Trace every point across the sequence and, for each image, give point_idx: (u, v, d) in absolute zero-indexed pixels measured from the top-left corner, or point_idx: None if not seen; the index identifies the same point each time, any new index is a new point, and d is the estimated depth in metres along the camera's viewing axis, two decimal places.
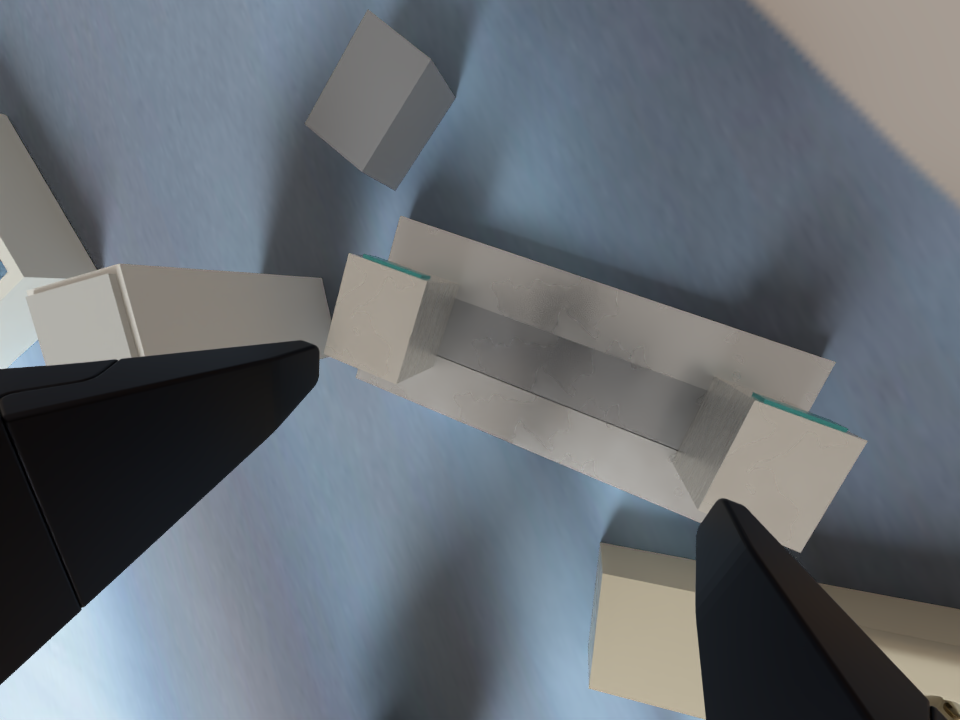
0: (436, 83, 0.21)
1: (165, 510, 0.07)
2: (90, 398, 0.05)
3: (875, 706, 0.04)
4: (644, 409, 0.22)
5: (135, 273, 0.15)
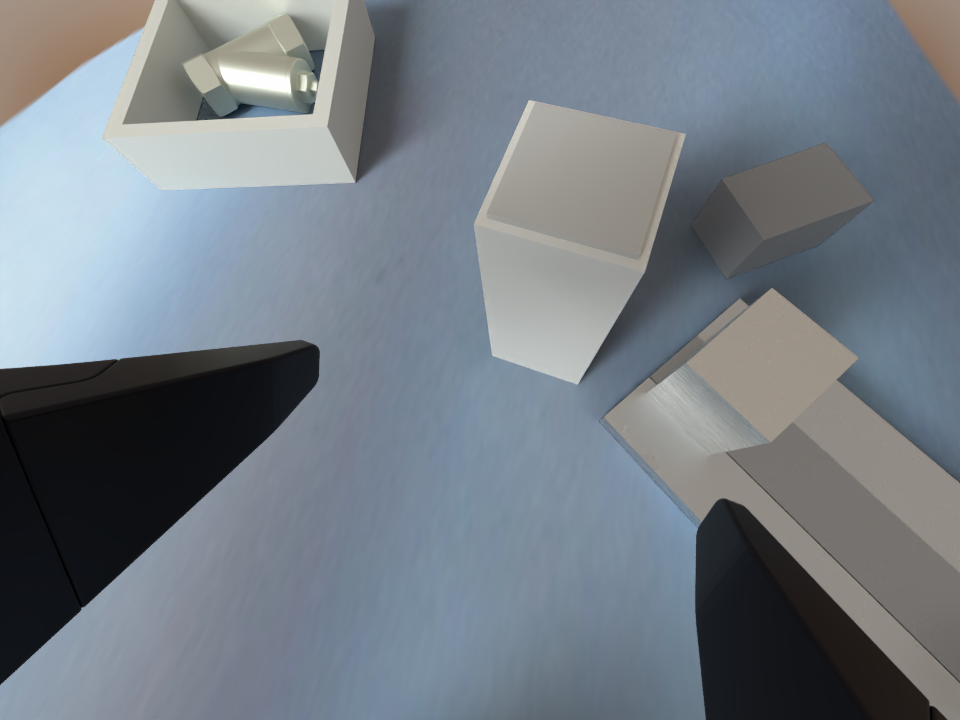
0: (844, 221, 0.22)
1: (165, 510, 0.07)
2: (90, 398, 0.05)
3: (875, 706, 0.04)
4: None
5: None
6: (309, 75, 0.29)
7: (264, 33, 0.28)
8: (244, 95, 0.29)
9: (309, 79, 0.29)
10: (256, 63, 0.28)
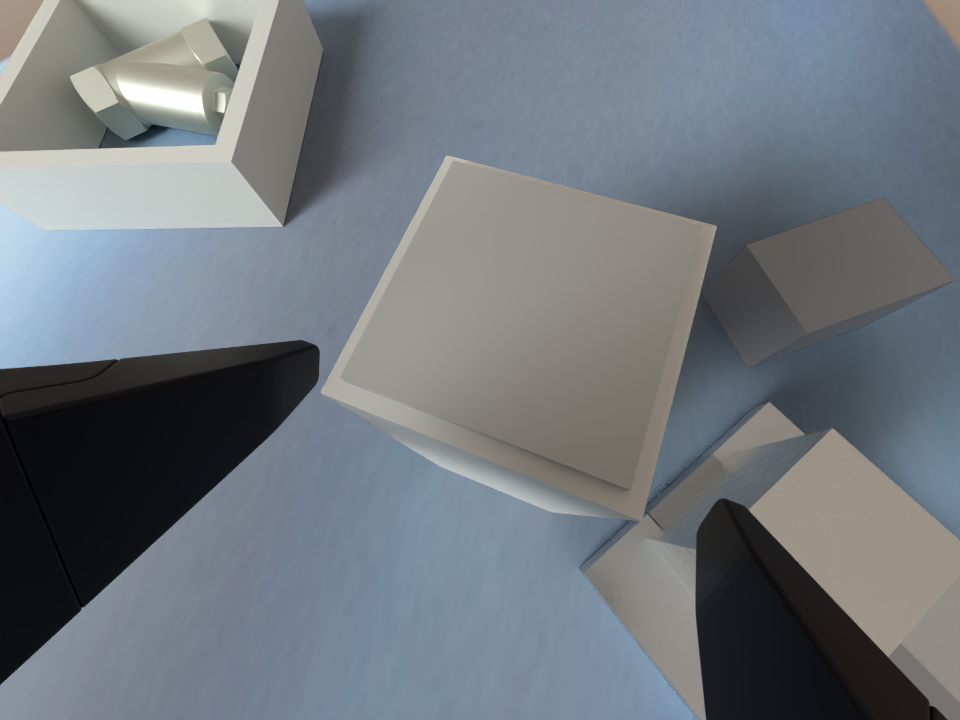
0: (908, 302, 0.16)
1: (165, 510, 0.07)
2: (90, 398, 0.05)
3: (875, 706, 0.04)
4: None
5: None
6: (229, 93, 0.23)
7: (176, 41, 0.23)
8: (150, 115, 0.24)
9: (229, 98, 0.23)
10: (162, 77, 0.23)
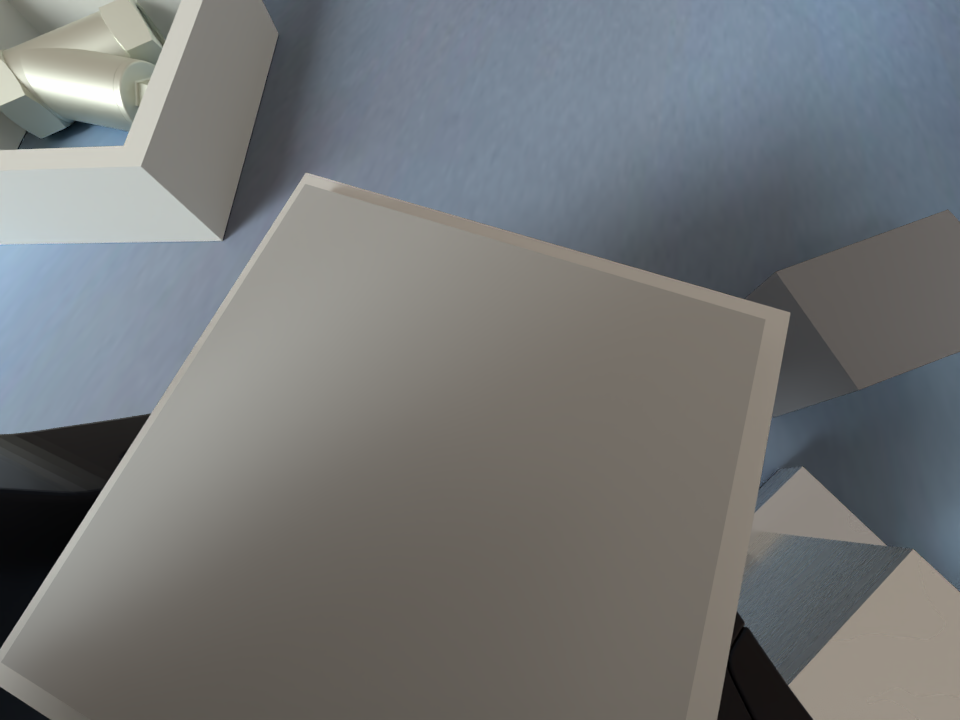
0: None
1: None
2: None
3: None
4: None
5: None
6: None
7: (93, 23, 0.20)
8: (66, 110, 0.20)
9: None
10: (73, 65, 0.19)
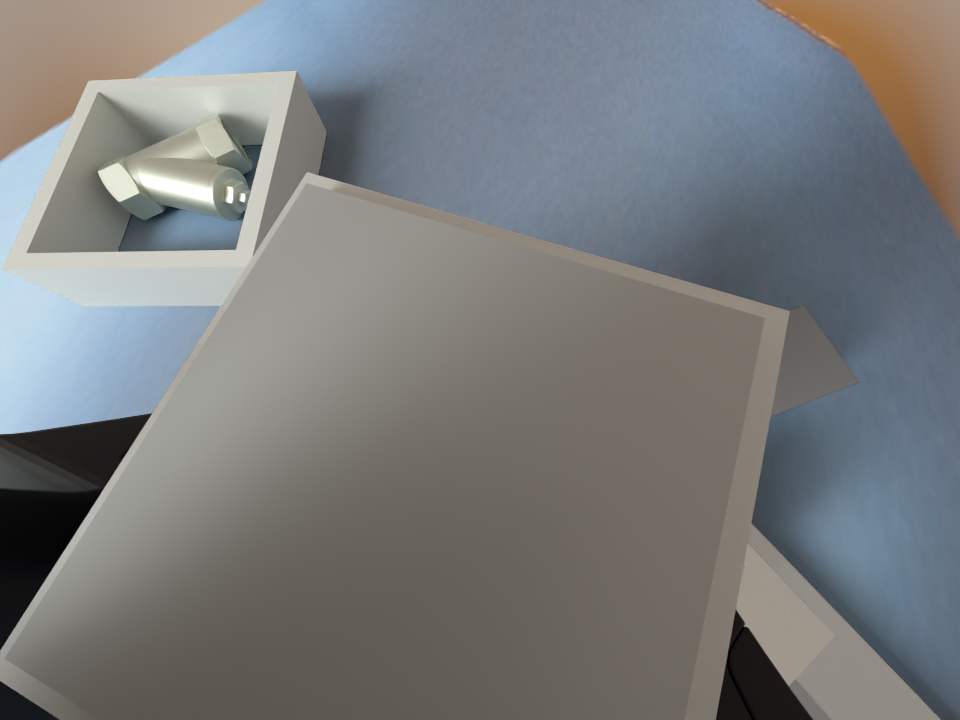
0: None
1: None
2: None
3: None
4: None
5: None
6: (236, 186, 0.26)
7: (190, 138, 0.26)
8: (167, 202, 0.27)
9: (236, 190, 0.26)
10: (178, 173, 0.25)
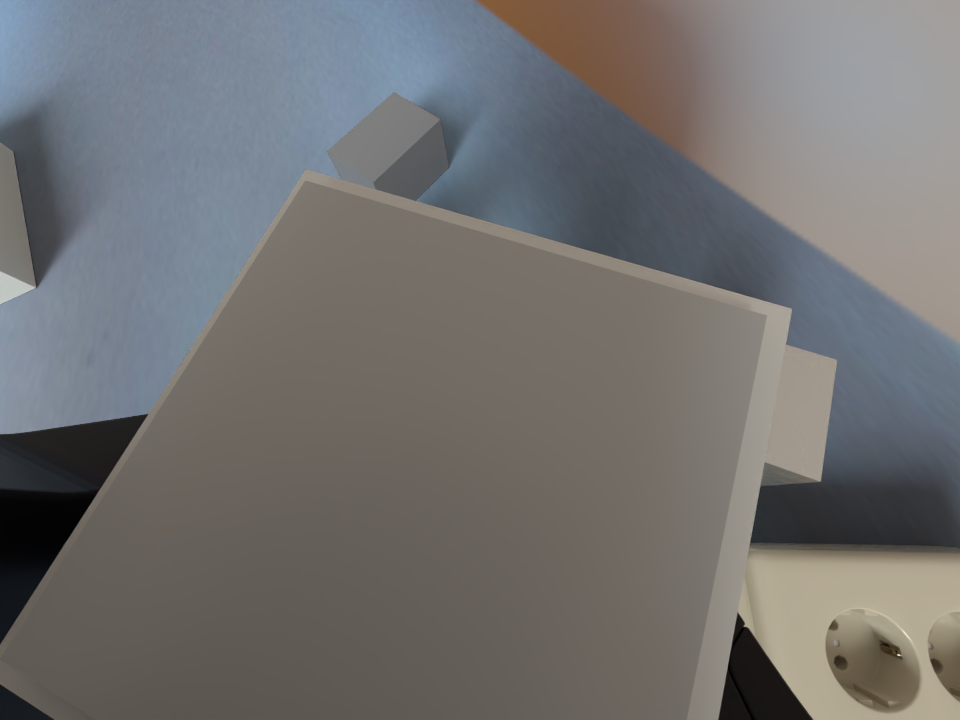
0: (439, 143, 0.27)
1: None
2: None
3: None
4: None
5: None
6: None
7: None
8: None
9: None
10: None
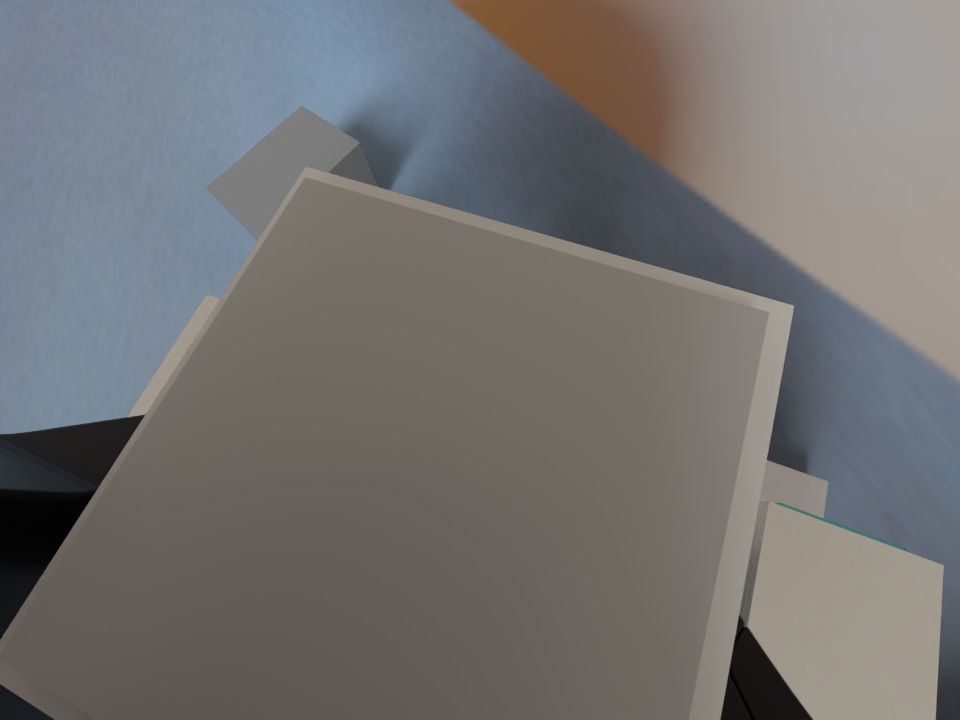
0: (364, 172, 0.20)
1: None
2: None
3: None
4: None
5: None
6: None
7: None
8: None
9: None
10: None
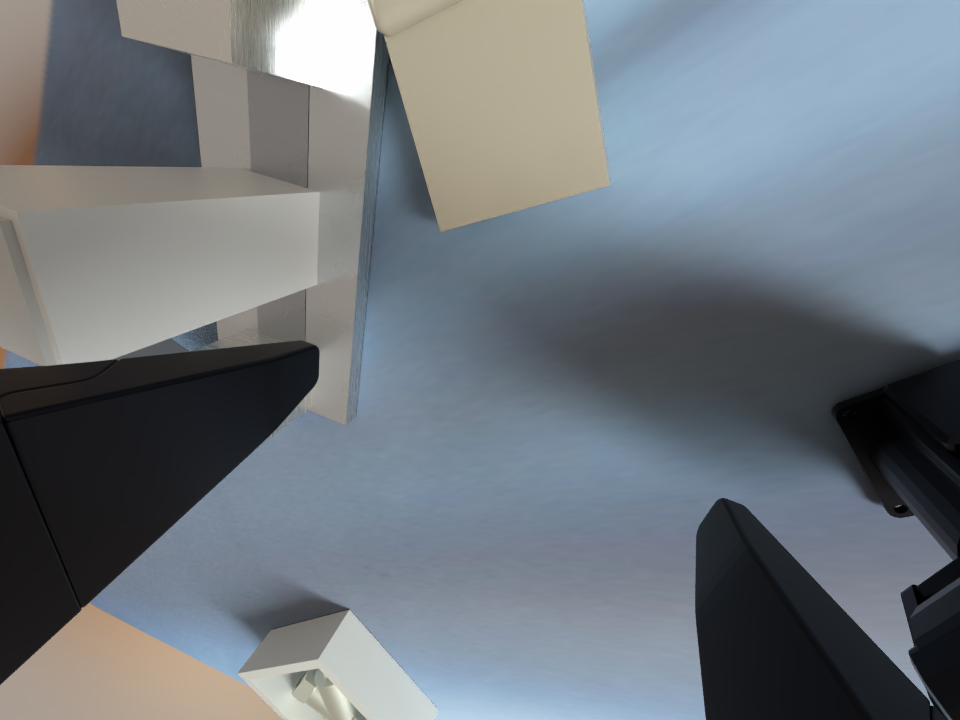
0: None
1: (165, 510, 0.07)
2: (90, 398, 0.05)
3: (876, 706, 0.04)
4: (283, 134, 0.20)
5: None
6: (322, 672, 0.40)
7: (310, 703, 0.41)
8: None
9: None
10: (331, 705, 0.40)
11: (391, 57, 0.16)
